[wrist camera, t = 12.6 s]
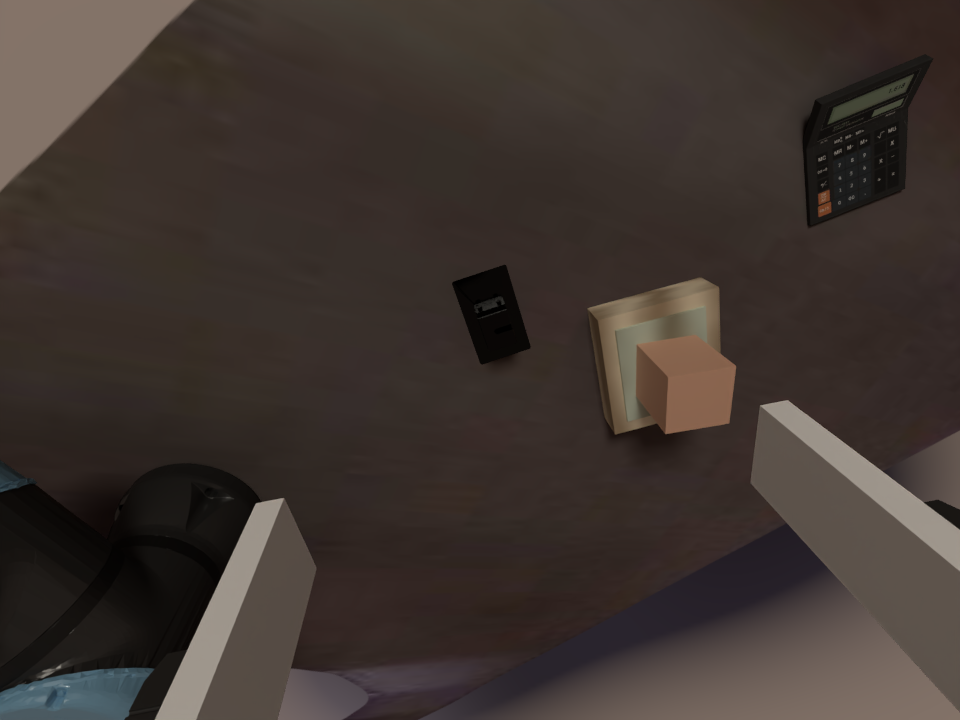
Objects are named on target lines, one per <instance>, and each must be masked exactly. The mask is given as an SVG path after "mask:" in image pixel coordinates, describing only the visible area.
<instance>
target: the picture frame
mask: <svg viewBox="0 0 960 720" xmlns="http://www.w3.org/2000/svg"><path fill="white" fill-rule="evenodd" d="M587 310H588V316H589V323H590V329H591V335H592V342H593V348H594V354H595V360H596V367H597V373H598V379H599V385H600V392H601V398H602V404H603V411H604V417H605V419H606V421H607V422H608V424H609V426H610V427H611V429H612V431H613V432H614V434H615V435H616V434H619V433H623V432H627V431H631V430H634V429H638V428H642V427H646V426H649V425H653V424H657V423H656V421H655V420H654V419H653V417H652V416H651V415H650V414H649V412H648V411H647V410H646V408H645V407H644V406H643V404H642V403H641V402H640V401H639V399H638V398H637V397H636V352H637V344H642V343H648V342H654V341H660V340H666V339H672V338H678V337H685V336H691V335H697V336H698V337H699V338H700V339H702V340H703V341H704V342H706V343H707V344H708V345H709V346H711V347H712V348H713V349H715V350H716V351H717V352H719V353H720V311H719V287H717V286H716V285H714V284H712V283H710V282H708V281H706V280H704V279H703V278H701V277H700V278H696V279H693V280H689V281H686V282H682V283H678V284H675V285H671V286H667V287H664V288H660V289H656V290H653V291H649V292H645V293H642V294H638V295H634V296H631V297H627V298H623V299H620V300H616V301H613V302H609V303H605V304H602V305H598V306H594V307H591V308H587Z"/></svg>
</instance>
